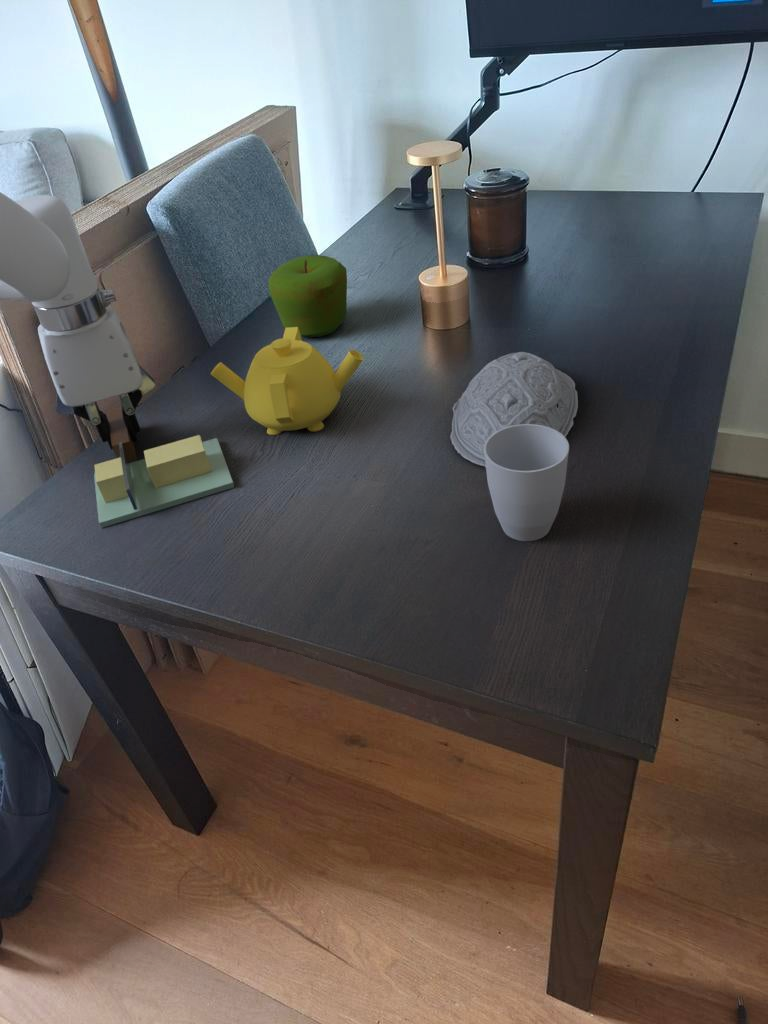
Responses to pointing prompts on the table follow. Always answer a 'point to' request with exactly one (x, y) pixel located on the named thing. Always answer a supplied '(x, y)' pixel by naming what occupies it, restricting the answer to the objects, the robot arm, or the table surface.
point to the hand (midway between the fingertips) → (123, 439)
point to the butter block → (177, 461)
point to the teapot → (290, 384)
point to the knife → (123, 448)
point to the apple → (310, 294)
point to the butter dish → (165, 489)
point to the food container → (512, 402)
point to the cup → (526, 478)
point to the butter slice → (111, 480)
